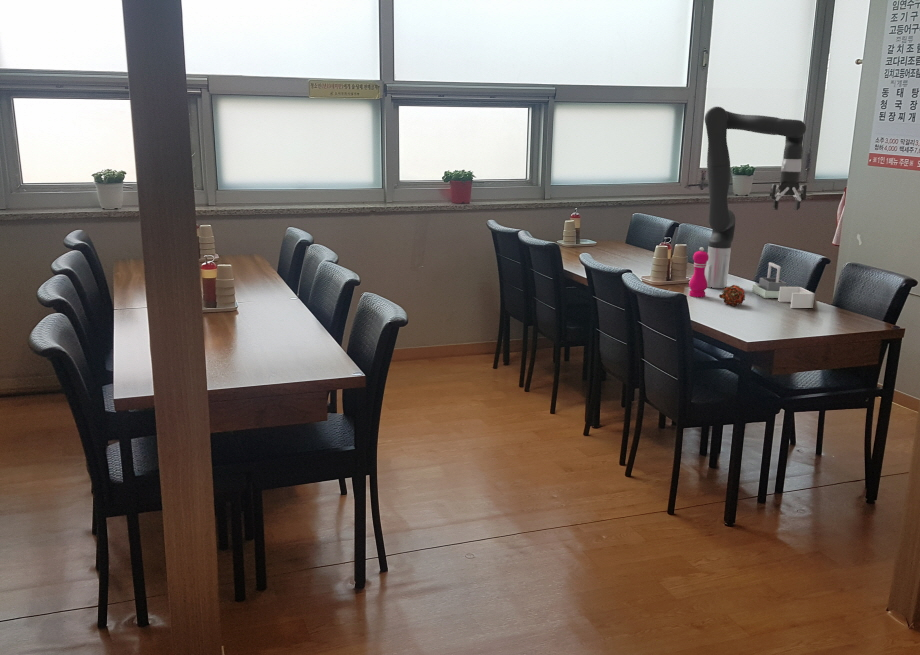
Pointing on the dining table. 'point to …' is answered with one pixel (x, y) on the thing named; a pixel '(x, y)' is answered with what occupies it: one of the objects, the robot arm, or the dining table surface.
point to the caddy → (772, 280)
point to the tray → (765, 292)
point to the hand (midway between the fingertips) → (785, 210)
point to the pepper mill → (699, 274)
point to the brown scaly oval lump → (733, 295)
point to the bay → (796, 297)
